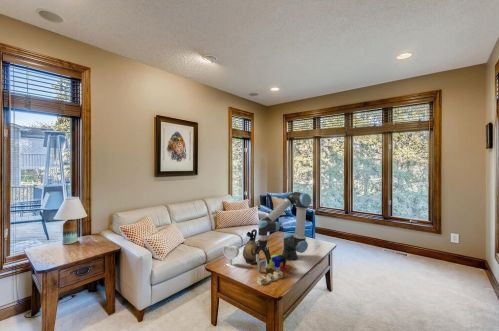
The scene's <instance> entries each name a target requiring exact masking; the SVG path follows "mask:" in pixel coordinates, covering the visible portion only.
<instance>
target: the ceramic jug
mask: <svg viewBox="0 0 499 331" xmlns="http://www.w3.org/2000/svg"><path fill="white" fill-rule="evenodd" d="M257 234H258V231H257V229H254V228H253V229H252V230H251V232H250V231H248V232H247V233H246V237H247V238H248V237H249V240H248V241H247V242H246V243H245V245H244V247H243V249H242V256H243V259H244V261H245V263H247V264H255V263H257V262H256V253H255V252H254V251H255V249H256V246H257V242H256V238H257ZM258 254H259V255H260V252H259V253H258Z"/></svg>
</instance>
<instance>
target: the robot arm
mask: <svg viewBox="0 0 499 331" xmlns="http://www.w3.org/2000/svg"><path fill="white" fill-rule="evenodd" d="M311 204H312V197H311V195H310V194H309V193H305V192H301V191H300V192H299V191H293V192H291V193H290V194H288V195H287V196H285V197H284V200H282V202H281V203H280V204H278V206H277V207H275V208H274V209H273V210H272V211H271V212H270V213H269V214H268V215H266V216H265V217H263V218H262V217H261V218H260V220H259V221H258V227H257V228H258V231H257V234H258V237H257V238H258V241H257V242H256V244H257V246H256V249H255V251H254V252H255V253H256V262H255V263H257V261H259V260H260V252H261V251H262V252H263V253H264V256H265V259H266V268H267V267H268V268H270V260H271V256H272V255H271V253H270V248H269V246H267V244H268V233H269V232H276V231H279V230H280V228H281V225H280V223H279V222H278V221H276V220H277V219H278V218H279V217H280V216H281V215H282V214H283V213H284V212H285V211H286V210H287V209H288V208H289V207H292V206H293V205H295V209H296V216H295V230H294V233H293V232H292V233H290V232H289V233H284V234H283V250H282V252H281V255H282V256H284V257H286V261H296V260H297V259H298V254H297V253H300V254H303V253H305V252H306V251H307V250H308V247H309V243H308V242H307V240H306V239H307V237H306V236H305V231H306V230H305V229H306V219H307V218H306V217H307V216H306V215H307V210H308V209H309V207H310V205H311ZM258 253H259V254H258Z"/></svg>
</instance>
